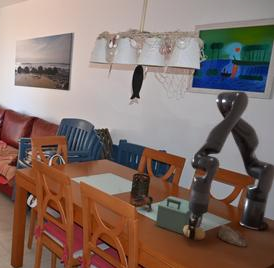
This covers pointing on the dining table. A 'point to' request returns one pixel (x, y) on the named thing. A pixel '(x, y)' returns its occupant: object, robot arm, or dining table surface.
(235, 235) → the oyster shell
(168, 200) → the bin lid
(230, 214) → the dining table surface
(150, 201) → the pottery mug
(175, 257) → the dining table surface
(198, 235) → the potato
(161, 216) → the bin
